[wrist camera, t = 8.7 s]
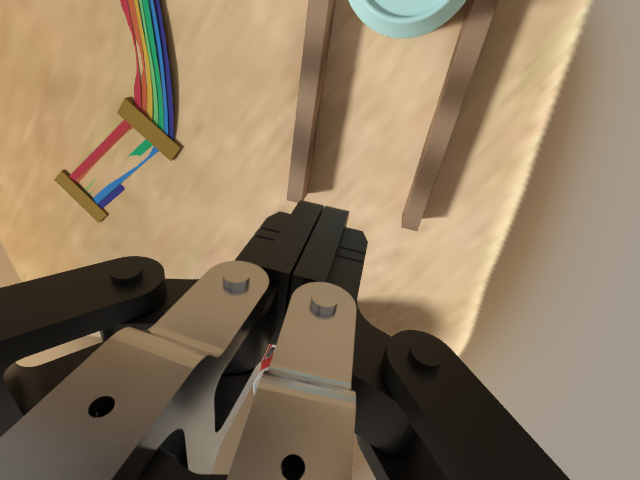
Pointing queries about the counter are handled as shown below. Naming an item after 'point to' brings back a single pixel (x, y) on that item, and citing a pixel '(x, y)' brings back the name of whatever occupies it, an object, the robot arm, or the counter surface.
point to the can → (405, 15)
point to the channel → (443, 119)
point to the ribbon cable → (135, 107)
